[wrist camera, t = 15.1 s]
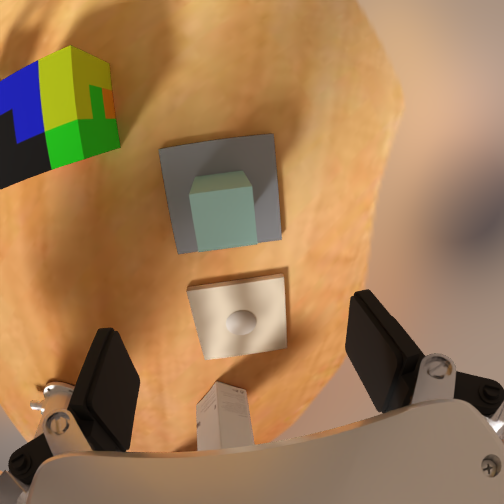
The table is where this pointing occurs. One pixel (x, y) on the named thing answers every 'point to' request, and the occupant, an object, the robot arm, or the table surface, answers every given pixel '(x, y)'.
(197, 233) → the teal block
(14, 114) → the puzzle toy
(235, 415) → the skincare box
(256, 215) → the slate mat
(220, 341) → the birch pad
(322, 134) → the table surface
